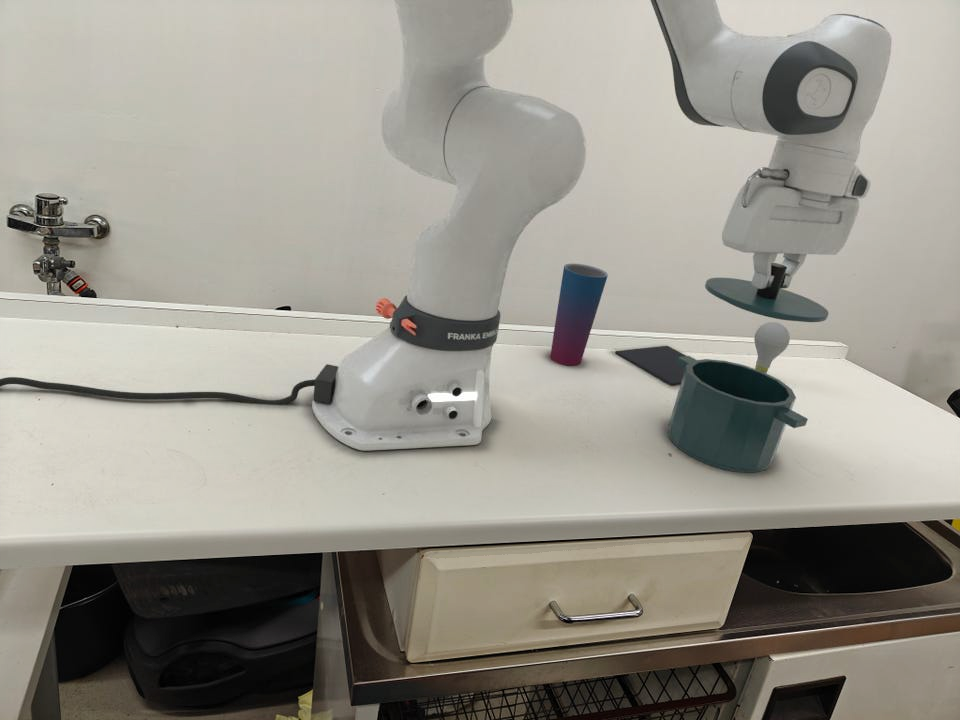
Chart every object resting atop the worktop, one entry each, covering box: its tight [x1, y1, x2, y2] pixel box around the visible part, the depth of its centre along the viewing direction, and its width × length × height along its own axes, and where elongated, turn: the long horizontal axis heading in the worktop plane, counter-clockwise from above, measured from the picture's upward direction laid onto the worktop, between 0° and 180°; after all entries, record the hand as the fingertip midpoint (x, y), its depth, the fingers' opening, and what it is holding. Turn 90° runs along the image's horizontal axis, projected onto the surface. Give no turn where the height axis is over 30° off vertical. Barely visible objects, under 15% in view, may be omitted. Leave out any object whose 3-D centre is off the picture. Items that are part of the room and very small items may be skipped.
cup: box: [549, 263, 609, 367], centre depth 113 cm, size 7×7×15 cm
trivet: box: [614, 345, 687, 387], centre depth 121 cm, size 13×13×1 cm
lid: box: [704, 262, 830, 323], centre depth 88 cm, size 15×15×5 cm
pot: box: [667, 355, 809, 474], centre depth 94 cm, size 14×19×10 cm
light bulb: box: [753, 321, 791, 374], centre depth 121 cm, size 6×6×10 cm
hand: (769, 287), depth 88 cm, fingers closed on lid, 2 cm apart
